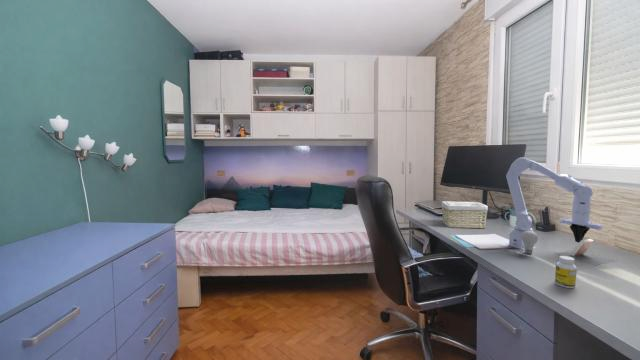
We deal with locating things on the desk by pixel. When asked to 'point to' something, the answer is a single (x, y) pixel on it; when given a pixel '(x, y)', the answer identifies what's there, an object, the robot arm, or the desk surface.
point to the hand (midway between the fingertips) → (578, 241)
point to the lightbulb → (529, 240)
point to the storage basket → (464, 214)
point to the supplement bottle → (565, 272)
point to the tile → (582, 247)
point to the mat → (588, 258)
